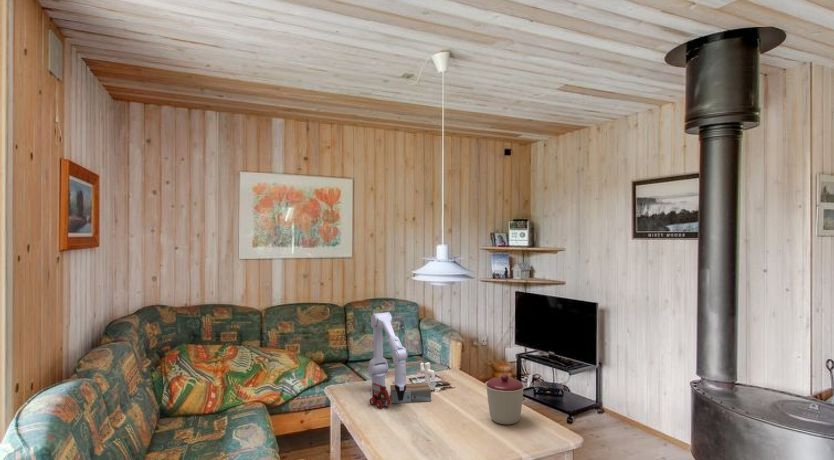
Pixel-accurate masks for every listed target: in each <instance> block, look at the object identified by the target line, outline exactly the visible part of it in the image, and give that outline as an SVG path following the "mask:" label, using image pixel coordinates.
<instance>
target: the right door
mask: <svg viewBox="0 0 834 460" xmlns="http://www.w3.org/2000/svg"><path fill="white" fill-rule="evenodd" d="M399 403H400V404H401V403H412V402H411V391H405V392H404V397H403V401H399V400H398V395H397V391H396V392H392V401H391V404H399Z"/></svg>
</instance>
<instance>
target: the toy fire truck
mask: <svg viewBox="0 0 834 460" xmlns="http://www.w3.org/2000/svg"><path fill="white" fill-rule="evenodd" d="M371 388H372V394H371V397H370V398H369V405H370V406H371V407H376V408H377V409H378V410H380V409H381V410H382V408H383V406H385V407H389V406H391V404H392V401H391V397H390V395H389V392H388V390H387V387H386V385H385V386H382V385H379V384H376V383H373V384H372V383H371Z"/></svg>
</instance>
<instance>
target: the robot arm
mask: <svg viewBox="0 0 834 460" xmlns="http://www.w3.org/2000/svg"><path fill="white" fill-rule="evenodd" d="M392 320H393V317H392V314H391V312H389V311H386V312H377V313H376V312H375V313H372V314H371V316H370V326H371V328H372V330H373V331H372V336H373V339H372V340H373V343H372V344H373V357H372V358H371V359H370V360H369V361H368V367H367V368H368V369H367V370H368V371H367V372H368V374H369V375H370V377H371V385H372V384H373V383H376V384H379V385H382V386H385V387H386V376H387V374H388V371H389V365H388V360H387V359H386V358H385V357H384V344H383V342H384V340H383V330H384V332H385V334H386V336H387V338H388V342H387V343H388V345H389V347H390V349H391V351H392V354H391V355H392V360H393V361H392V362H393V365H394V381H392V383H391V385H395V389H396V391H397V395H398V400H399V401H403V397H404V392H405V390H406V384H407V363H406V362H407V360H408V358H409V353H408V349H407V348H406V347H404V346H403V345H402V342H401V339H400V338H399V337H398V336H396V334H395V331H394V327H393V326H392ZM370 394H371V395H372V387H370Z"/></svg>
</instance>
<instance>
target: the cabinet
mask: <svg viewBox="0 0 834 460" xmlns="http://www.w3.org/2000/svg"><path fill="white" fill-rule="evenodd" d="M389 386H390V387H389V390H390V395H389V396H390V400H391V402H392V392H396V389H395V384H390V385H389ZM405 391H411V402H410V403H421V402H431V401H432V391H431V390H430V387H429V385H428V383H422V382H415V383H406V390H405Z"/></svg>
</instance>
